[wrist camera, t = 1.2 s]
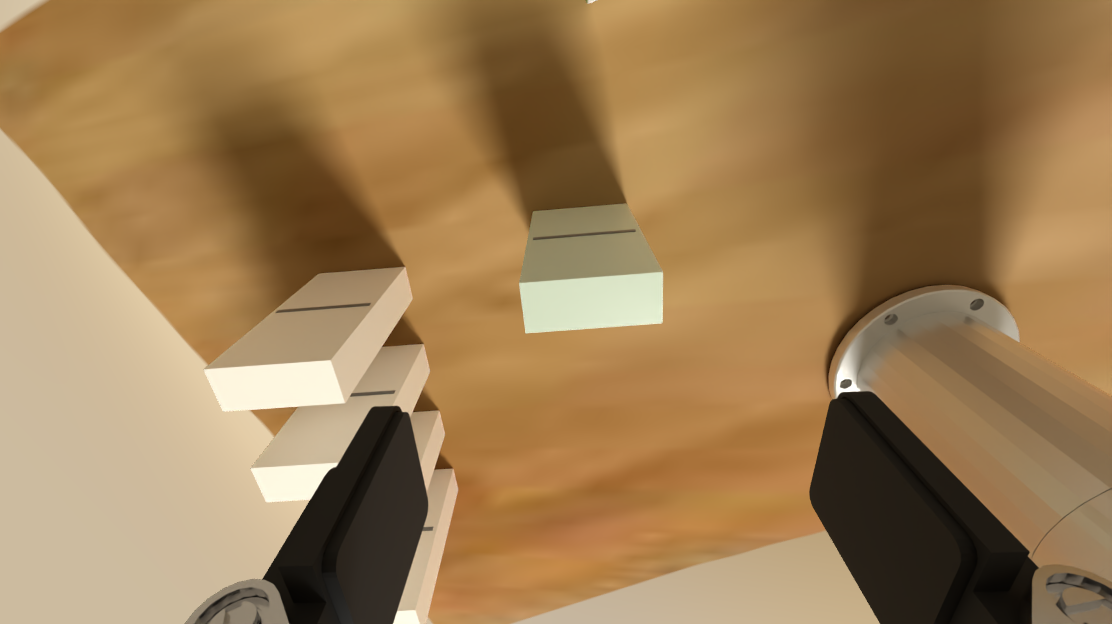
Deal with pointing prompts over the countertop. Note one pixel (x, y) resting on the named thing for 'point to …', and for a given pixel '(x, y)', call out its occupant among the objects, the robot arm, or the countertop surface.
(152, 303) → the countertop surface
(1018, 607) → the robot arm
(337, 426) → the domino
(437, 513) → the domino
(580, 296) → the sage domino
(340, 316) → the domino
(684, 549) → the countertop surface
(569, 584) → the countertop surface
